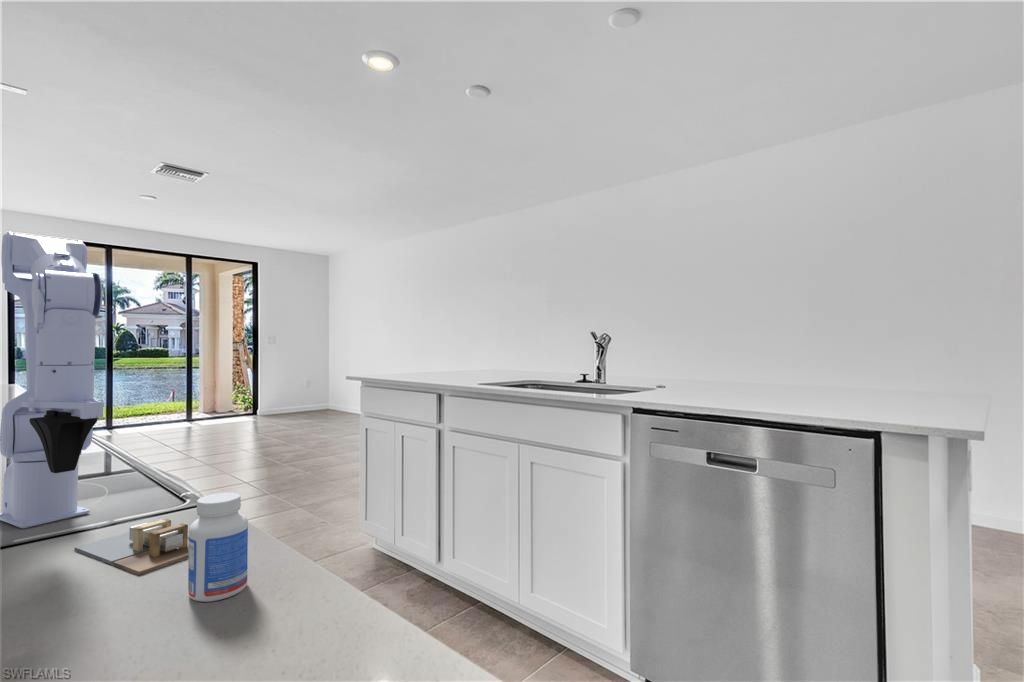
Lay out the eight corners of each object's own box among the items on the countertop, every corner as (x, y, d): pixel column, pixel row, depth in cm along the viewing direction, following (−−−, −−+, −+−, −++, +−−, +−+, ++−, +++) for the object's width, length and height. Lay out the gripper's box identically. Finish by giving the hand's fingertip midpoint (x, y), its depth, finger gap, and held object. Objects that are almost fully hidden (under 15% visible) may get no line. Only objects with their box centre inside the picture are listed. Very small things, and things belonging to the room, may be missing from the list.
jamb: (113, 565, 59) (114, 538, 59) (199, 537, 68) (199, 514, 68) (139, 575, 57) (139, 547, 57) (224, 545, 66) (225, 521, 66)
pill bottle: (258, 580, 56) (259, 491, 56) (225, 605, 51) (228, 506, 51) (211, 577, 57) (213, 489, 57) (174, 601, 51) (176, 504, 51)
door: (74, 550, 64) (75, 525, 64) (160, 526, 72) (160, 504, 72) (111, 564, 60) (112, 537, 60) (197, 537, 68) (198, 513, 69)
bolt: (129, 539, 65) (129, 527, 65) (146, 534, 67) (146, 522, 67) (165, 551, 62) (165, 538, 62) (182, 546, 63) (182, 533, 63)
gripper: (-1, 364, 65) (-4, 470, 65) (53, 367, 59) (50, 485, 58) (67, 363, 72) (64, 460, 71) (123, 365, 65) (120, 473, 65)
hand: (62, 471), depth 65 cm, fingers closed
